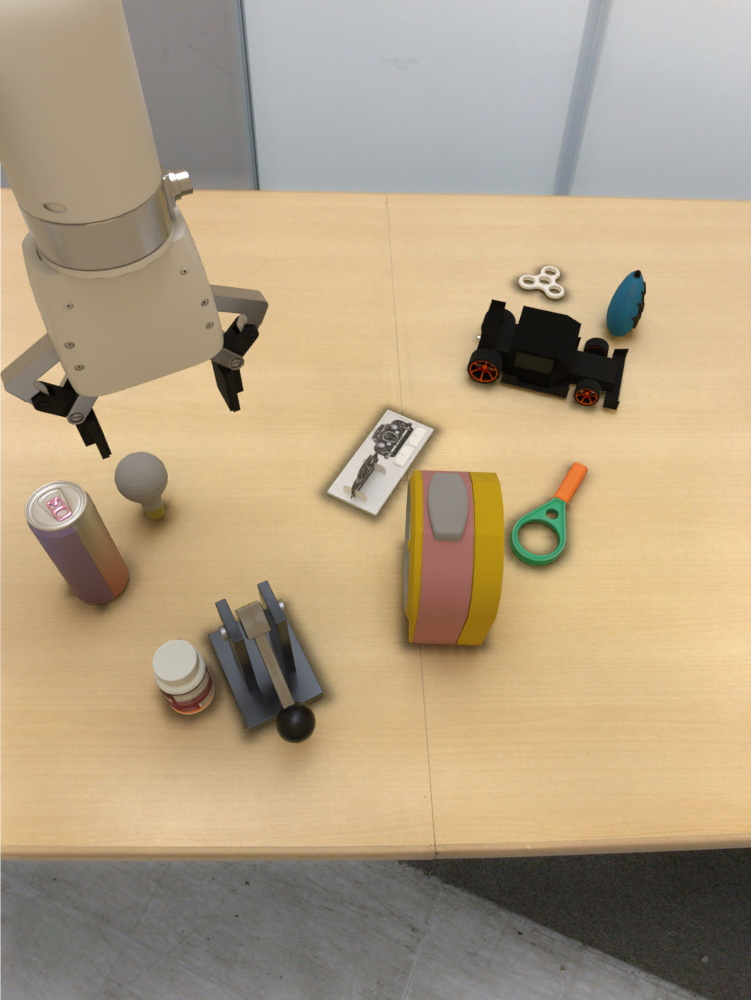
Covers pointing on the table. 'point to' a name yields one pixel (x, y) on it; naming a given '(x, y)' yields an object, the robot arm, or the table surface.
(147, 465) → the light bulb
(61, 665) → the table surface
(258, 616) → the switch lever
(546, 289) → the fidget spinner
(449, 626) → the alarm clock
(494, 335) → the toy race car
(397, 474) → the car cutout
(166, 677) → the pill bottle
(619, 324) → the ornament
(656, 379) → the table surface
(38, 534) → the beverage can
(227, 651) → the switch bracket
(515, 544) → the magnifying glass
